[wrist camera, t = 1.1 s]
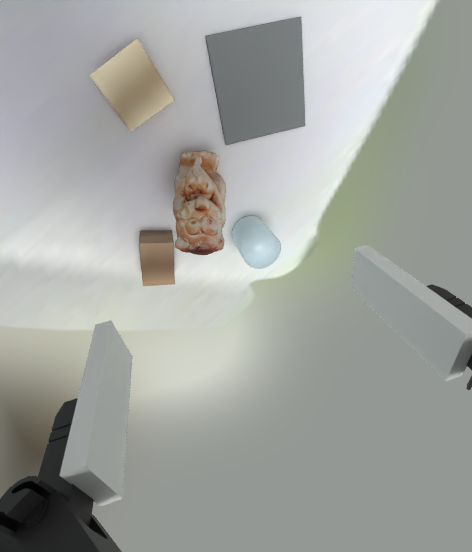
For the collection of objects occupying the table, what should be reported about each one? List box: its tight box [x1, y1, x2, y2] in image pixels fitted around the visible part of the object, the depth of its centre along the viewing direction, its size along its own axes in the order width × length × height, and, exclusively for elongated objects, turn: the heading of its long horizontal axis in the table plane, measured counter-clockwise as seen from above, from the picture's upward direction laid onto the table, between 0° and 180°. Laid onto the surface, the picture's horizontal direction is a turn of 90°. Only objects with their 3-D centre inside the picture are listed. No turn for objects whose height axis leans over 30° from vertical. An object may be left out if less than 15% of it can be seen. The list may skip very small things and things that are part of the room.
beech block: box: [89, 39, 174, 132], centre depth 27 cm, size 5×5×5 cm
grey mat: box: [206, 17, 305, 145], centre depth 31 cm, size 10×10×1 cm
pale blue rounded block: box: [232, 216, 281, 268], centre depth 38 cm, size 5×5×6 cm
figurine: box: [173, 151, 226, 255], centre depth 29 cm, size 6×8×15 cm
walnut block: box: [139, 231, 175, 286], centre depth 37 cm, size 6×4×4 cm, turn 175°
